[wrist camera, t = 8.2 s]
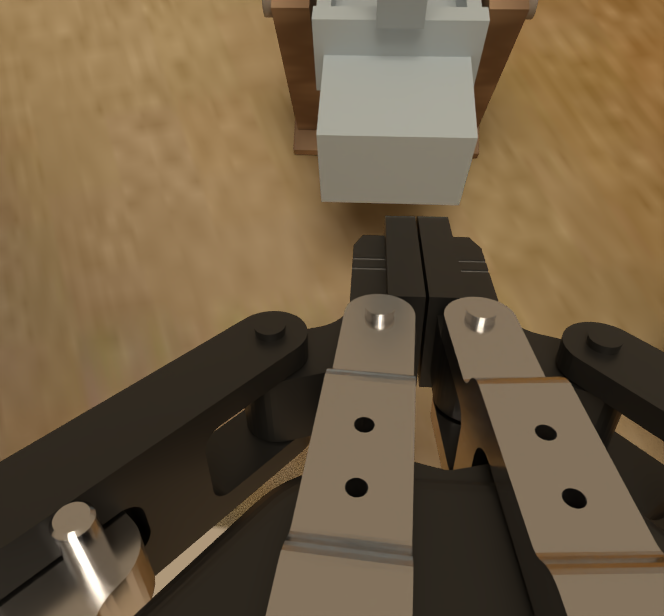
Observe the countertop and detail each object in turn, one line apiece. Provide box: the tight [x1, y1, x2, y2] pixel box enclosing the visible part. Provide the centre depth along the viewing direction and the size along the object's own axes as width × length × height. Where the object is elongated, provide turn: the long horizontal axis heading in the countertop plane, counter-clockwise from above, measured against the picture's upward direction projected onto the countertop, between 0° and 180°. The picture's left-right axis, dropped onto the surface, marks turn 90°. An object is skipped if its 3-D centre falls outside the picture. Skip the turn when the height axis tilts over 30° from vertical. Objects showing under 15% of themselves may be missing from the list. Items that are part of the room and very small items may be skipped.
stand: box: [262, 0, 538, 158], centre depth 28 cm, size 12×5×11 cm, turn 87°
